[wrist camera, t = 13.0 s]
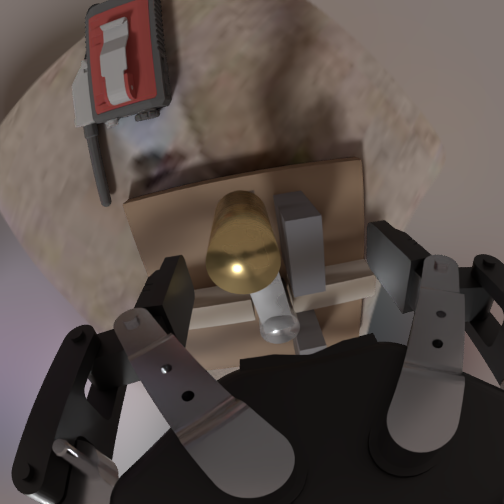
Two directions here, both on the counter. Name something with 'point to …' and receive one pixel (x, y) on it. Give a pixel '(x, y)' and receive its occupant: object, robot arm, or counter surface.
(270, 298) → the swing bar
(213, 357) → the lock base
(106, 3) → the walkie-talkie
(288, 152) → the counter surface
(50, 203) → the counter surface
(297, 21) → the counter surface
